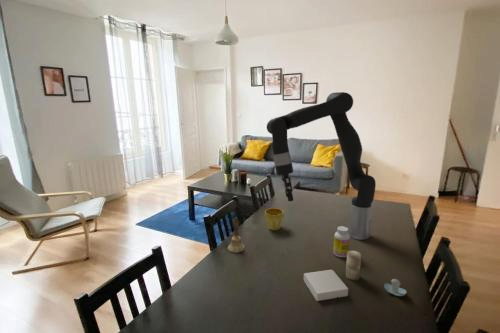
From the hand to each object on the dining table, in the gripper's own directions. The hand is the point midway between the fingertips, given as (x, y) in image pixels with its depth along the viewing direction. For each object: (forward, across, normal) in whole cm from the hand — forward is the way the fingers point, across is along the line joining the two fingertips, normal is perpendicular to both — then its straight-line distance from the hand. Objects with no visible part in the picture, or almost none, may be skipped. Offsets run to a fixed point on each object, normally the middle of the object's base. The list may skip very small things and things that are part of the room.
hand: (289, 198), depth 124 cm
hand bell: (+21, +6, +29) cm, 36 cm away
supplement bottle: (+31, +2, -18) cm, 36 cm away
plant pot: (+22, +28, +10) cm, 37 cm away
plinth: (+31, -22, -5) cm, 38 cm away
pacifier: (+36, -24, -30) cm, 53 cm away
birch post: (+32, -15, -18) cm, 40 cm away
